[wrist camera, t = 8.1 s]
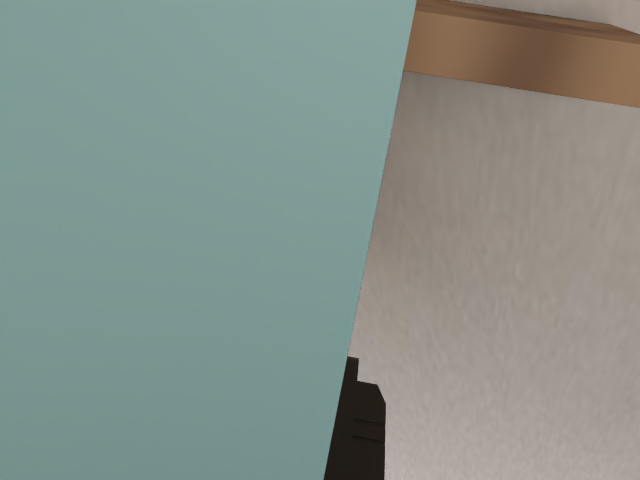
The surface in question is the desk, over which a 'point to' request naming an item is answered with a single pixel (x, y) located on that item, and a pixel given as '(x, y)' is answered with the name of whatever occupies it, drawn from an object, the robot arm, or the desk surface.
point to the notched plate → (185, 229)
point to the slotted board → (525, 51)
